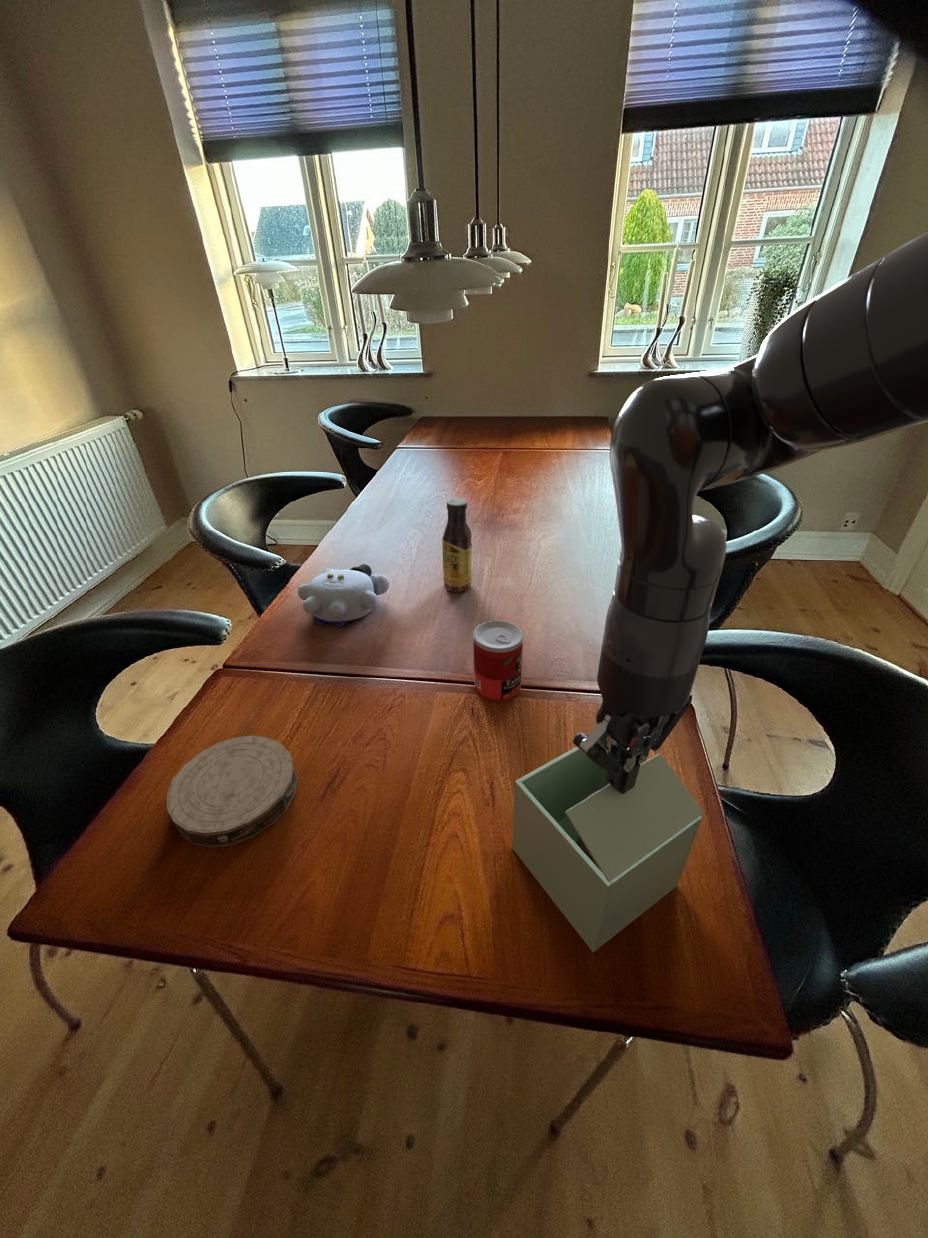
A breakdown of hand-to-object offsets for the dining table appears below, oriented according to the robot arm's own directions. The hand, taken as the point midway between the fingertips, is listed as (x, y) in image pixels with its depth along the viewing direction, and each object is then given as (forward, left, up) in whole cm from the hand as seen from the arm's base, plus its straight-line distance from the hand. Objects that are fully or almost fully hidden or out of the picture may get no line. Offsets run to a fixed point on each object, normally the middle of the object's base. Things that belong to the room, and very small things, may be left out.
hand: (620, 784), depth 52 cm
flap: (-2, 0, -2) cm, 3 cm away
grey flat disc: (+35, +33, -17) cm, 51 cm away
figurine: (+72, +2, -17) cm, 74 cm away
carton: (+1, 0, -16) cm, 16 cm away
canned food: (+33, -9, -17) cm, 38 cm away
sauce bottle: (+65, -21, -17) cm, 71 cm away
